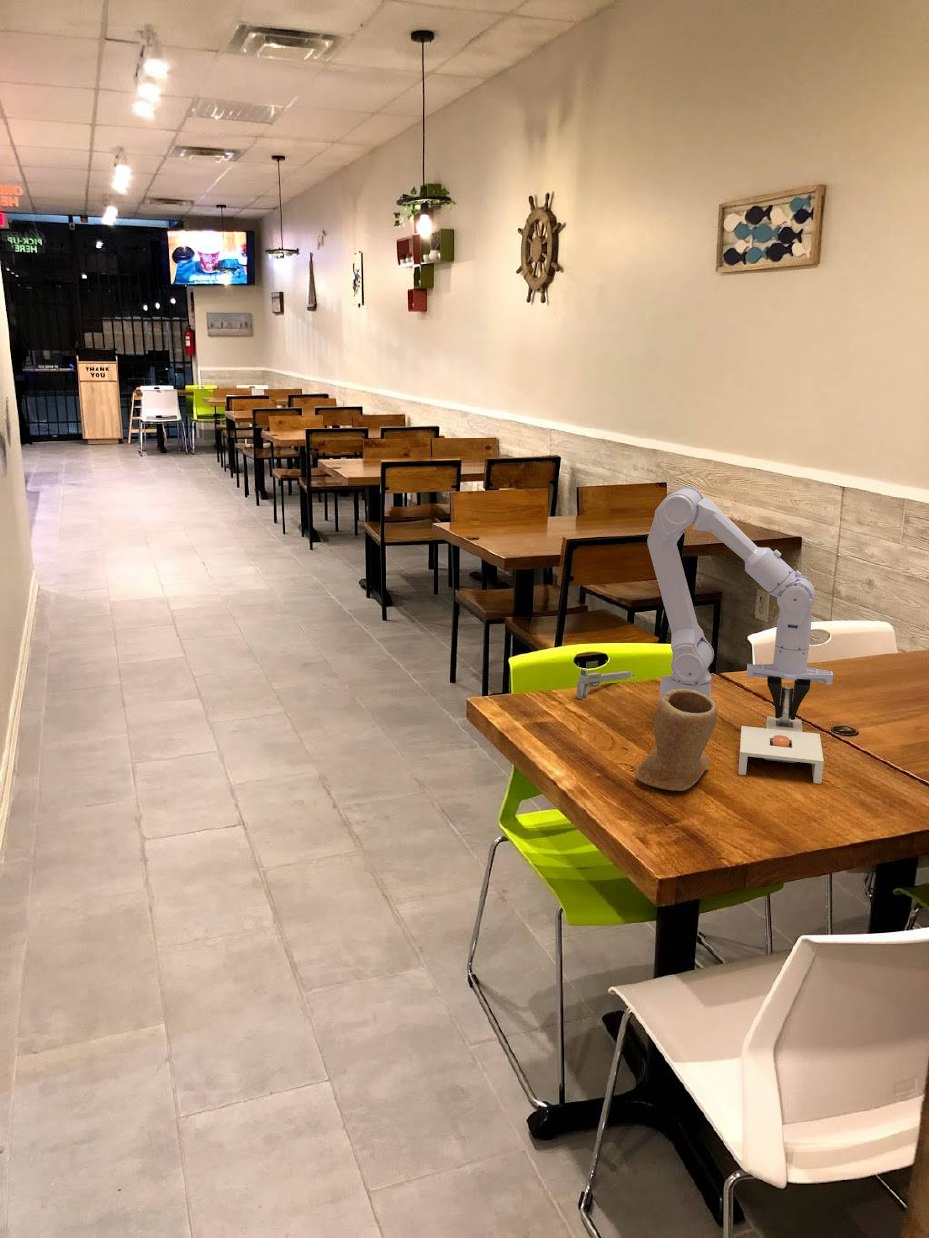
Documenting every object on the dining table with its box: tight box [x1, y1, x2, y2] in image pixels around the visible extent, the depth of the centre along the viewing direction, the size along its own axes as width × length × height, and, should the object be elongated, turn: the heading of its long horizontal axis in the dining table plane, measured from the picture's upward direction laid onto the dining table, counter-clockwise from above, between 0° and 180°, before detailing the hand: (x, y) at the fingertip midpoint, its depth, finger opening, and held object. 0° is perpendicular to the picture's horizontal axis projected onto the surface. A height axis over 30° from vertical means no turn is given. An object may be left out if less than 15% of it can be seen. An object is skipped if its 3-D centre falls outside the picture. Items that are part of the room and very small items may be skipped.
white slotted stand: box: [737, 725, 825, 785], centre depth 163 cm, size 13×12×4 cm
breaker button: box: [764, 735, 796, 764], centre depth 163 cm, size 5×5×3 cm
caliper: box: [576, 668, 635, 700], centre depth 201 cm, size 20×1×6 cm, turn 139°
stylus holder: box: [765, 716, 804, 732], centre depth 175 cm, size 6×6×2 cm
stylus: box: [778, 685, 794, 728], centre depth 174 cm, size 2×2×9 cm
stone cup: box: [635, 689, 718, 792], centre depth 157 cm, size 15×12×15 cm
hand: (784, 717), depth 174 cm, fingers closed on stylus, 2 cm apart
